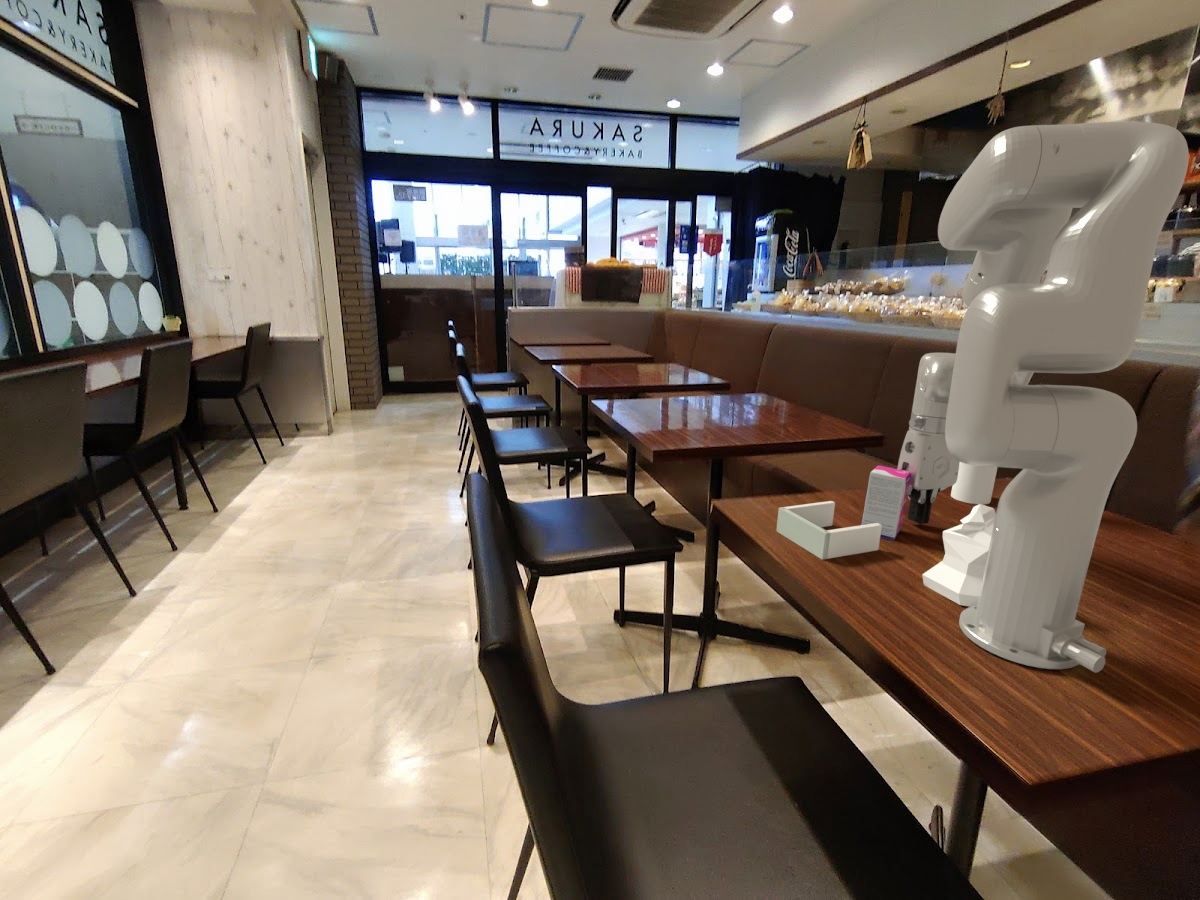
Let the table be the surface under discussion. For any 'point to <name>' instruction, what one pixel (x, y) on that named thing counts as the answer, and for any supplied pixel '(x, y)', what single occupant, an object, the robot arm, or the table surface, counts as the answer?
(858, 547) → the box
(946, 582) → the soft serve ice cream
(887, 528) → the supplement box
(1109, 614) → the table surface
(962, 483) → the cylindrical container
